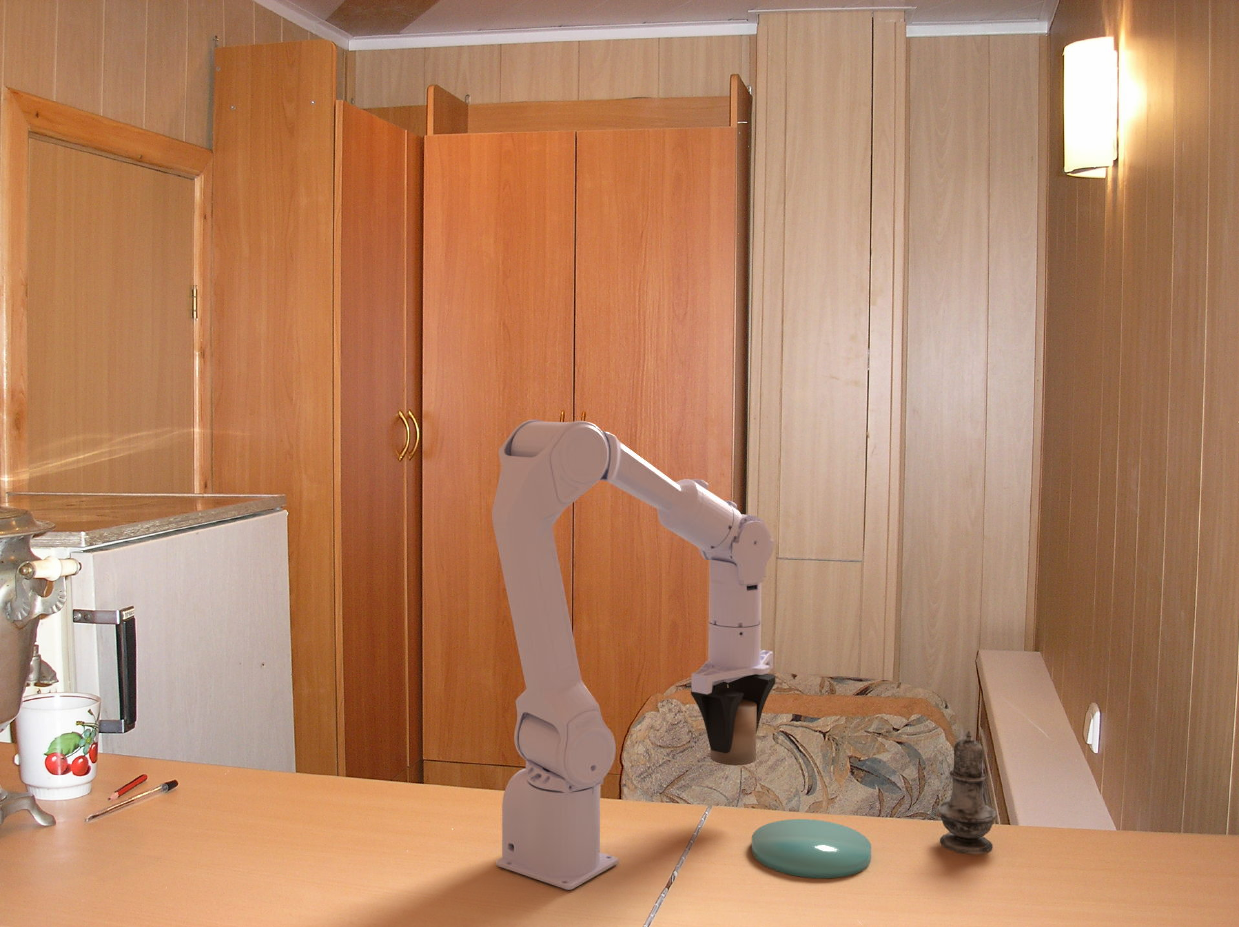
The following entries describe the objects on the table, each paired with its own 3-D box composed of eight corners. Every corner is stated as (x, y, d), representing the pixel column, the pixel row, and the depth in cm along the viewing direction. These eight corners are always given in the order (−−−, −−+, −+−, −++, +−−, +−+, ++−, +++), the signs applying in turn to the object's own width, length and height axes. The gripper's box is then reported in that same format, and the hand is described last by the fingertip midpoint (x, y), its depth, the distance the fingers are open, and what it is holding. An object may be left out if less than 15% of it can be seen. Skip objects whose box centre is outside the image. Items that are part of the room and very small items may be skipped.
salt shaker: (999, 857, 110) (1002, 741, 109) (939, 852, 111) (942, 737, 110) (991, 835, 115) (994, 724, 115) (934, 830, 117) (937, 721, 116)
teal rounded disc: (730, 857, 109) (730, 845, 109) (785, 821, 119) (785, 810, 119) (840, 889, 102) (840, 876, 102) (889, 848, 112) (889, 836, 112)
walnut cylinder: (701, 759, 119) (702, 705, 118) (724, 747, 123) (725, 695, 122) (741, 768, 116) (742, 713, 115) (764, 756, 120) (764, 703, 119)
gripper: (733, 638, 110) (731, 769, 111) (797, 616, 122) (795, 735, 123) (675, 629, 114) (673, 755, 115) (743, 609, 126) (741, 724, 127)
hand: (733, 744), depth 119 cm, fingers closed on walnut cylinder, 5 cm apart
